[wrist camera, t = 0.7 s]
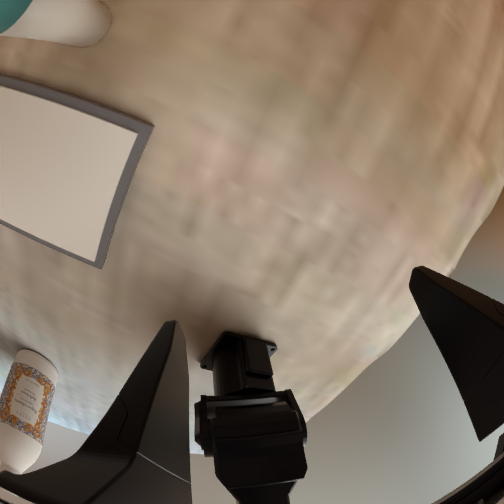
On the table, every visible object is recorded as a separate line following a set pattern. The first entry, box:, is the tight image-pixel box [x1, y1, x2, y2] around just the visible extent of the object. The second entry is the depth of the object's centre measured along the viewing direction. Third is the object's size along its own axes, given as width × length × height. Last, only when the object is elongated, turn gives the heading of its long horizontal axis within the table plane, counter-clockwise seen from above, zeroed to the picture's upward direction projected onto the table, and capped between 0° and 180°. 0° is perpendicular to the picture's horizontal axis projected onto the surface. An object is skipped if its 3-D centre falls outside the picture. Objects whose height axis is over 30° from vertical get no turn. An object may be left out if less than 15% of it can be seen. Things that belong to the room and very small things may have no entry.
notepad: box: [0, 74, 154, 269], centre depth 15 cm, size 12×16×1 cm
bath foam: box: [0, 350, 58, 496], centre depth 19 cm, size 7×7×20 cm
